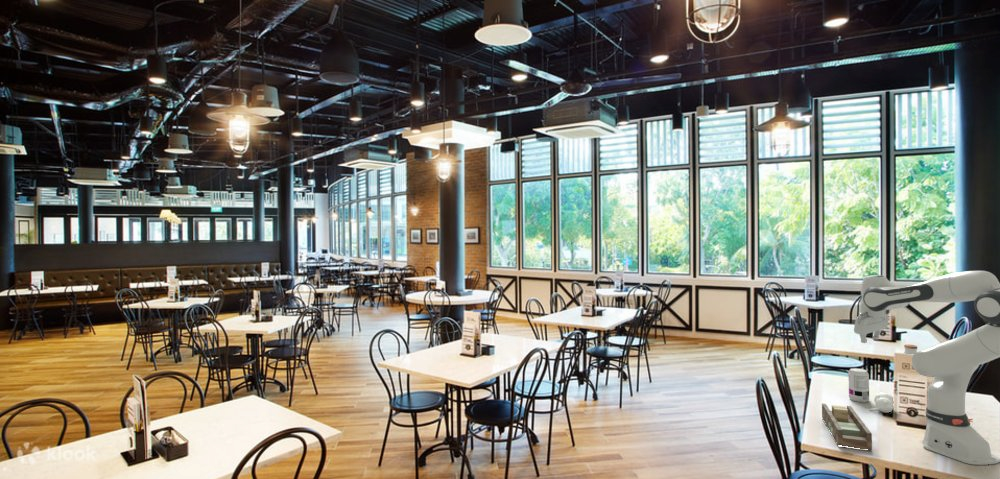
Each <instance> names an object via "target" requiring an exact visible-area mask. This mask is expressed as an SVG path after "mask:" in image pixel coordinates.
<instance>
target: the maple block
mask: <svg viewBox="0 0 1000 479" xmlns="http://www.w3.org/2000/svg"><path fill="white" fill-rule="evenodd" d="M831 411H832V414H833V416H834V418H838V419H848V410H847V406H844V405H835V404H833V405H832V404H831Z"/></svg>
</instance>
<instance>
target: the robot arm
mask: <svg viewBox="0 0 1000 479" xmlns="http://www.w3.org/2000/svg"><path fill="white" fill-rule="evenodd" d="M860 295H861V299H860V303H859V314H858V316H857V317H856V318H855V320H854V321H855V322H854V327H853V331H854V333H855V334H857V335H859V338H860V343H862V344H866V343H867V342H868V339H867V335H868V334H871V333H874V334H873V335H872V340H876V341H877V340H879V339H880V334H881V332H882V330H885V329H887V328H888V325H889V324H888V323H889V314H890V313H891V310H896V309H903V308H907V306H909V304H910V303H916V302H917V303H919V302H920V303H921V302H923V303H924V302H926V303H927V302H928V303H965V302H972V301H973V306H974V310H975V312H976V313H977V315H978V317H980V318H981V320H982V322H983V323H985V324H984V325H982V326H980V327H977V328H974V329H973V330H970V331H969V332H967V333H965V334H962V335H961V336H958V337H955V338H952V339H949V340H946V341H943V342H941V343H938V344H935V345H933V346H930V347H927V348H926V349H922V350H920V351H917V353H915V354H914V355H913V357H912V366H913V368H914V369H915V370H916V372H918V373H919V374H920V375H923V376H924V377H928V378H933V380H932V382H931V383H930V384H929V385H928V387H927V389H926V396H927V397H926V399H927V403H926V404H927V406H926V408H925V417H926V425H925V426H926V428H925V433H924V436H923V440H922V445H923V449H927V450H929V451H932V452H934V453H937V454H939V455H943V456H946V457H948V458H951V459H954V460H956V461H959V462H962V463H965V464H968V465H974V466H975V465H979V466H980V465H981V466H987V465H988V464H989V465H996V464H998V463H1000V457H998V456H996V455H994V454H992V451H991V445H990V443H989V441H987V440H986V439H985V438H984V437H983V436H982V435H981V434H980V433H979V432H978V431H977V430H976V429H975V428H974V427H972V426H971V423H973V422H974V421H973V420H974V418H969V417H968V415H967V412H966V395H967V394H966V393H967V389H968V386H969V383H970V380H971V378H972V376H973V374H974V372H975V371H976V370H977V369H978V368H979V367H980V365H983V364H986V363H989V362H991V361H994V360H996V359H999V358H1000V281H999V279H998V278H997V276H996V275H995V274H994V273H992V272H990V271H986V270H965V271H960V272H959V271H958V272H953V273H949V274H948V273H947V274H944V275H941V276H938V277H934V278H931V279H929V280H928V279H927V280H925V281H923V282H919V283H916V284H912V285H908V286H900V285H898V284H895V283H893V282H891V281H890V280H889V279H888V277H886V276H885V275H882V274H880V275H879V274H876V275H875V274H874V275H866V276H865V277H863V279H862V282H861V288H860Z"/></svg>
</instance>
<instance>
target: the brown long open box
mask: <svg viewBox="0 0 1000 479" xmlns="http://www.w3.org/2000/svg"><path fill="white" fill-rule="evenodd" d="M846 408H847V410H848V419H838V418H834V416H833V414H832V410H830V408H829V406H828V405H827V404H826V403H821V419H822V418H823V419H822V421H823V420H824V421H825V423H826V425H827V426H826V425H825V426H826V428H827V427H828V428H829V430H830V432H831V433H832V435H833V437H834V439H835V440H836V442H837V444H838V445H842V446H848V447H854V448H860V449H868V450H872V451H873V439H872V437H873V436H872V434H873V433H872V432H871V430H870V429H869V428H868V426H867V425H866V424H865V422H864V421H863V420H862V419H861V417H860V416H859V414H857V413H856V411H855V410H854V408H853V407H852V406H851V405H846ZM824 421H823V422H824ZM825 423H824V424H825ZM828 428H827V429H828ZM829 430H828V431H829ZM830 432H829V433H830ZM831 433H830V434H831ZM832 435H831V436H832ZM833 437H832V438H833ZM834 439H833V440H834ZM836 442H835V443H836ZM837 444H836V445H837Z"/></svg>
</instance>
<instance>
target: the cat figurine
mask: <svg viewBox="0 0 1000 479" xmlns="http://www.w3.org/2000/svg"><path fill="white" fill-rule="evenodd" d="M893 398H894V397H893V395H892V394H889V393H886V392H882V391H879V392H878V393H877V394H876V395H875V396H874V405H875V408H874V407H873V408H870V409H868V410H869V411H871V412H873V411H877V410H878V411H880V412H882V413H886V414H887V413H889V412H891V413H892V411H893V409H894V408H893Z"/></svg>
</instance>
